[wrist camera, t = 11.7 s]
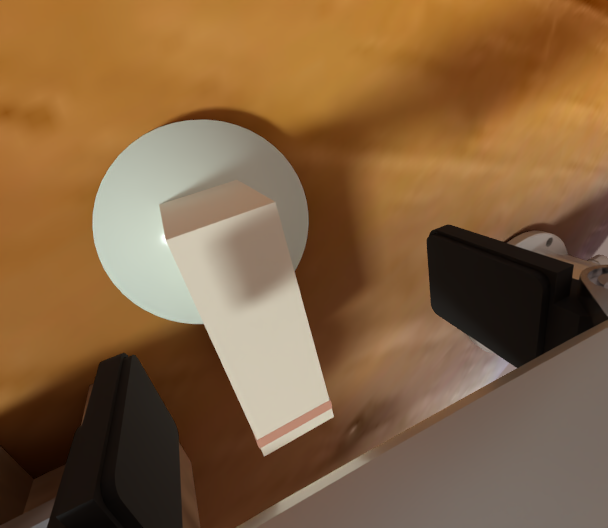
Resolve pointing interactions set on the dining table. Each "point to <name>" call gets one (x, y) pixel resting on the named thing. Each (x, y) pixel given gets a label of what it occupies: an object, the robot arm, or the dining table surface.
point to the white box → (250, 307)
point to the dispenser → (42, 491)
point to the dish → (175, 184)
